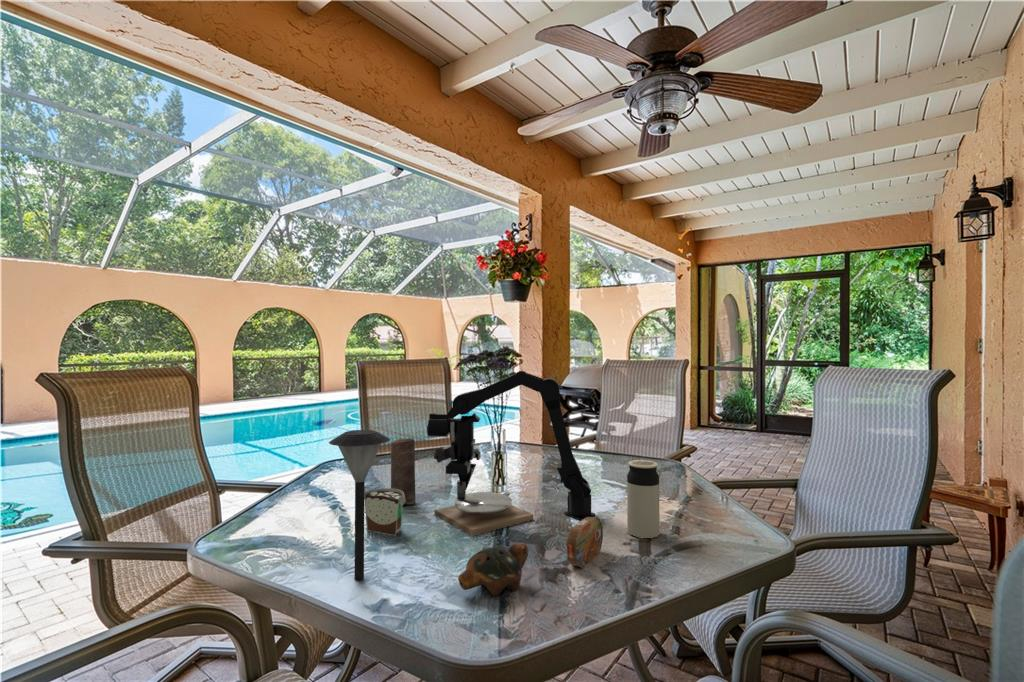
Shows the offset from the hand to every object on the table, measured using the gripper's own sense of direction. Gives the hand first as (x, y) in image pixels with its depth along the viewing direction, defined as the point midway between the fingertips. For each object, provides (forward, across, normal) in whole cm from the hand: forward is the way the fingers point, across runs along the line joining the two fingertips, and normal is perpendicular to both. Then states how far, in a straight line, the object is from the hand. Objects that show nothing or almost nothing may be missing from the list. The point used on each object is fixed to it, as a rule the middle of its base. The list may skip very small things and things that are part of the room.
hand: (464, 490), depth 142 cm
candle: (+7, -5, -20) cm, 22 cm away
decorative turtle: (+5, +44, +17) cm, 48 cm away
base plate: (+6, +4, +6) cm, 10 cm away
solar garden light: (+5, +44, -12) cm, 46 cm away
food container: (+6, +16, -16) cm, 24 cm away
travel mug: (+6, +10, +50) cm, 51 cm away
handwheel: (+4, +4, +6) cm, 9 cm away
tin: (+6, +28, +34) cm, 45 cm away
